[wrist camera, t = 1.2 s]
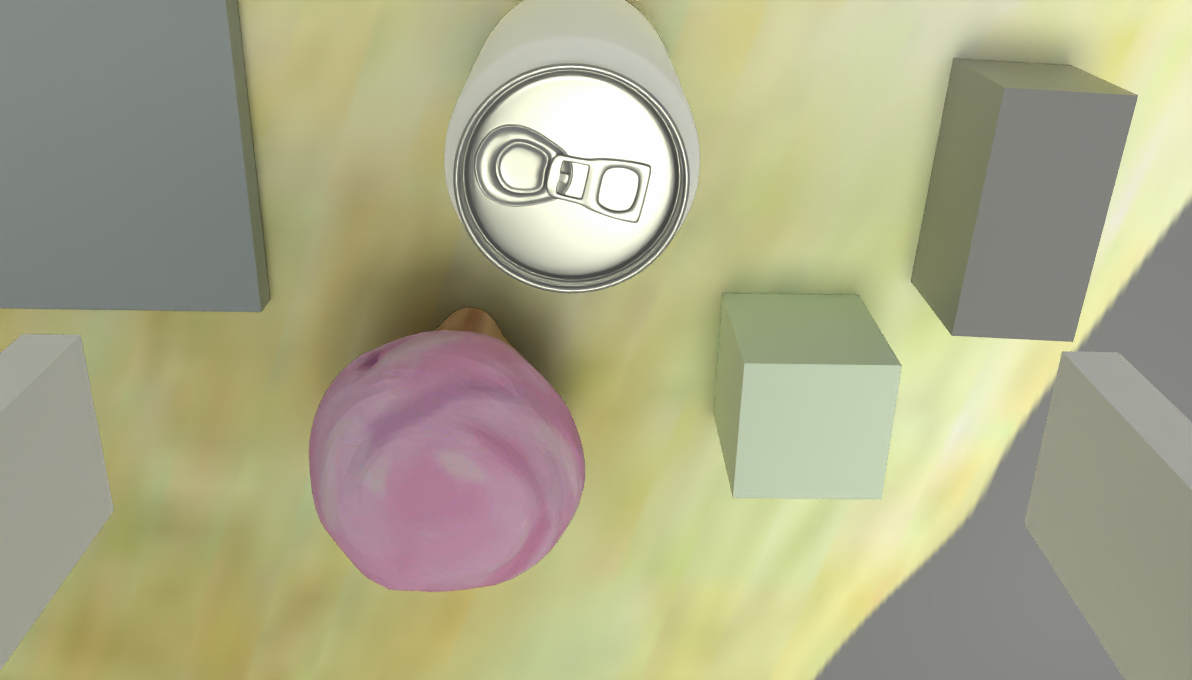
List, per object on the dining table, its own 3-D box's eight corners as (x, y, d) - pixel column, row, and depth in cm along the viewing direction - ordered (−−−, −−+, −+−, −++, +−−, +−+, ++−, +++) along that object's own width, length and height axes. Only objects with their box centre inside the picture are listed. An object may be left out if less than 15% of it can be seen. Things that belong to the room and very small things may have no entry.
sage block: (713, 412, 42) (732, 497, 37) (722, 292, 40) (744, 363, 35) (842, 414, 42) (881, 499, 37) (858, 294, 40) (901, 365, 35)
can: (497, -38, 35) (459, 14, 24) (692, 7, 36) (740, 78, 25) (463, 155, 38) (414, 281, 27) (645, 194, 38) (670, 332, 27)
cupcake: (627, 398, 42) (639, 553, 33) (451, 513, 44) (416, 689, 35) (480, 219, 39) (448, 334, 30) (299, 351, 41) (216, 497, 32)
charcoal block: (909, 279, 40) (951, 335, 35) (952, 57, 37) (1004, 87, 32) (1017, 285, 40) (1073, 341, 36) (1069, 64, 37) (1137, 95, 32)
